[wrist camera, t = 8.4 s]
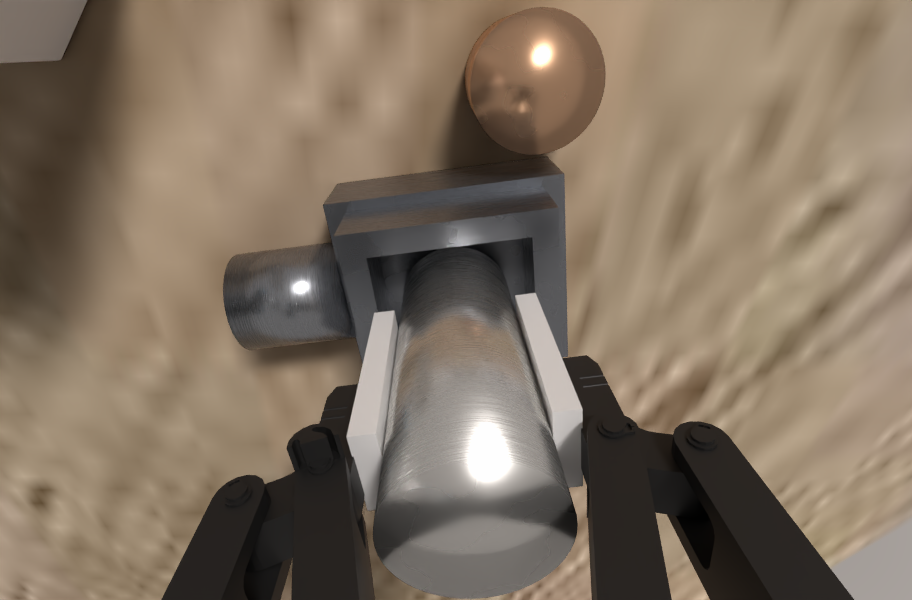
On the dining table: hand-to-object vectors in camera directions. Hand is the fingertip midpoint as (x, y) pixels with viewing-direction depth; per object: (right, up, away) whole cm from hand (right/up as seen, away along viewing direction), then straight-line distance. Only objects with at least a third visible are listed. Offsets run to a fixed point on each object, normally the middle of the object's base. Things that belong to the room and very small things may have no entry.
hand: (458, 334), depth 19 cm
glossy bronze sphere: (+3, +11, +3) cm, 12 cm away
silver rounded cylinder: (0, +1, +3) cm, 3 cm away
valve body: (-3, +2, +7) cm, 8 cm away
